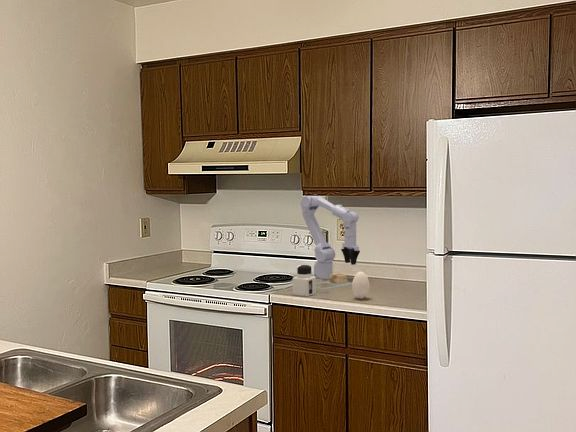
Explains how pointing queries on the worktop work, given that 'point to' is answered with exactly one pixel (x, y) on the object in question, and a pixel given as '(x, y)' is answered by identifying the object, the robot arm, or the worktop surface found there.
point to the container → (304, 281)
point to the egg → (360, 285)
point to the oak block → (338, 278)
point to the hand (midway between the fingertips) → (350, 263)
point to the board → (334, 284)
